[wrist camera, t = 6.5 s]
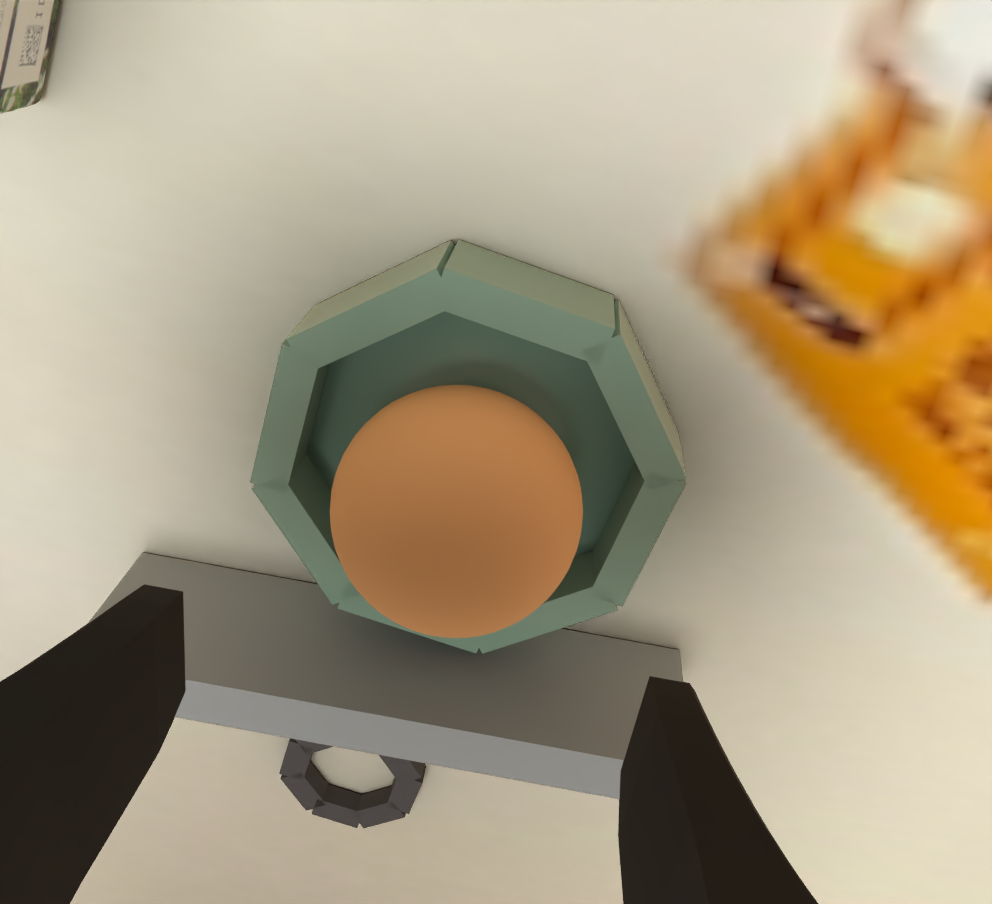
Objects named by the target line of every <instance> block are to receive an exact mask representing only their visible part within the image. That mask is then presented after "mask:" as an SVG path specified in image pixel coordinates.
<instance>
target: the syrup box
mask: <svg viewBox="0 0 992 904" xmlns="http://www.w3.org/2000/svg"><path fill="white" fill-rule="evenodd" d="M58 3H59V0H0V114H1V113H4V112H9V111H13V110H16V109H18V108H23V107H27V106H30V105H33V104H36V103H37V102H39V100H40V96H41V92H42V89H43V85H44V80H45V74H46V69H47V65H48V60H49V55H50V47H51V42H52V37H53V32H54V27H55V24H56V16H57V13H58Z"/></svg>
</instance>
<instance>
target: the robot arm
mask: <svg viewBox="0 0 992 904" xmlns="http://www.w3.org/2000/svg"><path fill="white" fill-rule="evenodd" d="M185 691H186V686H185V644H184V602H183V591H178V590H173V589H167V588H162V587H156V586H151V585H145V584H144V585H143V586H141V587H140V588H138V589H137V590H135V591H134V592H132V593H131V594H129V595H128V596H126V597H125V598H123V599H122V600H120V601H119V602H118V603H116V604H115V605H113V606H112V607H111V608H109V609H108V610H106V611H105V612H103V613H102V614H101V615H99V616H98V617H96V618H95V619H94V620H92V621H91V622H89V623H88V624H86V625H85V626H84V627H82V628H81V629H79V630H78V631H76V632H75V633H74V634H72V635H71V636H69V637H68V638H66V639H65V640H63V641H62V642H60V643H59V644H57V645H56V646H54V647H53V648H51V649H50V650H49V651H47V652H46V653H44V654H43V655H41V656H40V657H38V658H37V659H35V660H34V661H32V662H31V663H29V664H28V665H26V666H25V667H23V668H22V669H20V670H18V671H17V672H15V673H14V674H12V675H10V676H9V677H7V678H6V679H4V680H2V681H1V682H0V904H70V902H71V901H72V899H73V897H74V895H75V893H76V891H77V890H78V888H79V886H80V884H81V882H82V881H83V879H84V877H85V876H86V874H87V872H88V871H89V869H90V867H91V866H92V864H93V862H94V861H95V859H96V857H97V856H98V854H99V852H100V851H101V849H102V847H103V846H104V844H105V842H106V841H107V839H108V837H109V835H110V834H111V832H112V830H113V829H114V827H115V825H116V824H117V822H118V820H119V819H120V817H121V815H122V814H123V812H124V810H125V809H126V807H127V805H128V804H129V802H130V800H131V799H132V797H133V795H134V794H135V792H136V790H137V789H138V787H139V785H140V784H141V782H142V780H143V778H144V777H145V775H146V773H147V772H148V770H149V768H150V767H151V765H152V763H153V761H154V760H155V758H156V756H157V754H158V753H159V751H160V749H161V747H162V744H163V742H164V740H165V738H166V735H167V733H168V731H169V729H170V727H171V724H172V722H173V720H174V717H175V715H176V713H177V710H178V708H179V706H180V703H181V701H182V698H183V696H184V694H185ZM618 837H619V852H620V865H621V877H622V890H623V902H624V904H818V903H817V901H816V900H815V899H814V897H813V896H812V895H811V893H810V892H809V890H808V889H807V888H806V886H805V885H804V883H803V882H802V880H801V879H800V878H799V876H798V875H797V873H796V872H795V870H794V869H793V867H792V866H791V864H790V863H789V861H788V860H787V858H786V857H785V855H784V854H783V852H782V851H781V849H780V847H779V846H778V844H777V843H776V841H775V840H774V838H773V836H772V835H771V833H770V832H769V830H768V829H767V827H766V825H765V824H764V822H763V820H762V819H761V817H760V815H759V814H758V812H757V810H756V809H755V807H754V805H753V803H752V801H751V800H750V798H749V796H748V794H747V793H746V791H745V789H744V787H743V785H742V784H741V782H740V780H739V778H738V777H737V775H736V773H735V771H734V769H733V767H732V766H731V764H730V762H729V760H728V758H727V756H726V754H725V752H724V750H723V748H722V746H721V744H720V742H719V740H718V739H717V737H716V735H715V733H714V730H713V728H712V726H711V724H710V722H709V720H708V718H707V716H706V714H705V712H704V710H703V708H702V705H701V703H700V701H699V699H698V697H697V695H696V692H695V690H694V689H693V687H692V686H691V685H690V683H686V682H680V681H675V680H669V679H664V678H658V677H653V676H649V680H648V683H647V686H646V689H645V693H644V696H643V699H642V702H641V706H640V709H639V712H638V716H637V719H636V722H635V725H634V729H633V732H632V735H631V738H630V742H629V745H628V748H627V752H626V755H625V758H624V761H623V765H622V768H621V774H620V798H619V831H618Z"/></svg>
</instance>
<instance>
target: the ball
mask: <svg viewBox="0 0 992 904" xmlns="http://www.w3.org/2000/svg"><path fill="white" fill-rule="evenodd" d="M582 519H583V504H582V493H581V487H580V482H579V478H578V474H577V472H576V469H575V466H574V464H573V461H572V459H571V457H570V454H569V452H568V451H567V449H566V447H565V445H564V444H563V442H562V440H561V439H560V438H559V437H558V435H557V434H556V433H555V431H554V430H553V429H552V428H551V427H550V426H549V425H548V424H547V423H546V422H545V421H544V420H543V419H542V417H541V416H540V415H538V414H537V413H536V412H534V411H533V410H532V409H530V408H529V407H528V406H526V405H525V404H523V403H521V402H520V401H518V400H516V399H514V398H512V397H510V396H508V395H505V394H503V393H501V392H497V391H494V390H491V389H488V388H483V387H477V386H472V385H441V386H436V387H430V388H426V389H423V390H419V391H416V392H413V393H411V394H408V395H406V396H404V397H402V398H400V399H397V400H395V401H393V402H392V403H390V404H389V405H387V406H386V407H384V408H383V409H381V410H380V411H379V412H378V413H377V414H375V415H374V416H373V417H372V418H371V419H370V420H369V421H368V422H366V423H365V424H364V425H363V427H362V428H361V429H360V430H359V431H358V433H357V434H356V435H355V437H354V438H353V439H352V441H351V442H350V444H349V446H348V447H347V449H346V451H345V452H344V454H343V456H342V459H341V461H340V464H339V466H338V469H337V471H336V474H335V477H334V482H333V486H332V491H331V501H330V524H331V532H332V537H333V542H334V546H335V550H336V552H337V555H338V557H339V560H340V562H341V565H342V567H343V569H344V571H345V573H346V575H347V576H348V578H349V580H350V581H351V583H352V584H353V585H354V587H355V588H356V590H357V591H358V592H359V593H360V594H361V595H362V596H363V597H364V598H365V600H366V601H367V602H368V603H369V604H370V605H371V606H372V607H374V608H375V609H376V610H377V611H378V612H380V613H381V614H382V615H384V616H385V617H387V618H388V619H390V620H391V621H393V622H395V623H397V624H399V625H401V626H403V627H406V628H408V629H411V630H413V631H416V632H419V633H423V634H426V635H431V636H437V637H445V638H469V637H476V636H482V635H486V634H490V633H493V632H496V631H499V630H501V629H504V628H506V627H509V626H511V625H513V624H515V623H517V622H519V621H521V620H522V619H524V618H525V617H527V616H528V615H529V614H531V613H532V612H534V611H535V610H536V609H537V608H538V607H540V606H541V605H542V604H543V603H544V602H545V601H546V600H547V599H548V598H549V597H550V596H551V595H552V593H553V592H554V591H555V590H556V588H557V587H558V586H559V584H560V583H561V582H562V580H563V578H564V577H565V575H566V573H567V572H568V570H569V568H570V566H571V563H572V561H573V558H574V556H575V553H576V551H577V548H578V544H579V540H580V536H581V529H582Z"/></svg>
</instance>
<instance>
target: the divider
mask: <svg viewBox="0 0 992 904" xmlns="http://www.w3.org/2000/svg"><path fill="white" fill-rule="evenodd" d="M144 584H145V585H151V586H156V587H162V588H167V589H173V590H178V591H183V602H184V644H185V686H186V691H185V694H184V696H183V698H182V701H181V703H180V706H179V708H178V710H177V713H176V715H175V717H178V718H183V719H188V720H194V721H199V722H205V723H210V724H216V725H221V726H226V727H232V728H237V729H243V730H248V731H253V732H259V733H264V734H270V735H275V736H280V737H286V738H291V739H297V740H302V741H308V742H313V743H318V744H324V745H329V746H335V747H340V748H345V749H351V750H356V751H362V752H367V753H372V754H378V755H383V756H389V757H394V758H400V759H405V760H410V761H416V762H421V763H427V764H432V765H437V766H443V767H448V768H454V769H459V770H464V771H470V772H475V773H481V774H486V775H492V776H497V777H502V778H508V779H513V780H519V781H524V782H529V783H535V784H540V785H546V786H551V787H557V788H562V789H567V790H573V791H578V792H584V793H589V794H594V795H600V796H605V797H611V798H616V799H619V798H620V774H621V768H622V765H623V761H624V758H625V755H626V752H627V748H628V745H629V742H630V738H631V735H632V732H633V729H634V725H635V722H636V719H637V716H638V712H639V709H640V706H641V702H642V699H643V696H644V693H645V689H646V686H647V683H648V680H649V676H653V677H658V678H664V679H669V680H675V681H680V682H683V675H682V667H681V658H680V650H676V649H671V648H665V647H660V646H654V645H649V644H643V643H638V642H632V641H627V640H621V639H616V638H610V637H605V636H599V635H594V634H588V633H583V632H577V631H572V630H566V629H558V630H555V631H552V632H548V633H545V634H542V635H539V636H536V637H533V638H530V639H527V640H524V641H521V642H517V643H514V644H511V645H508V646H505V647H502V648H499V649H496V650H493V651H490V652H486V653H483V654H482V652H481V650H480V649H479V648H478V651H477V653H473V652H470V651H466V650H463V649H460V648H457V647H454V646H451V645H448V644H445V643H442V642H439V641H436V640H433V639H430V638H427V637H424V636H420V635H417V634H414V633H411V632H408V631H405V630H402V629H399V628H396V627H393V626H390V625H387V624H384V623H381V622H377V621H374V620H371V619H368V618H365V617H362V616H359V615H356V614H353V613H350V612H347V611H344V610H341V609H338V605H339V603H336V604H333V605H332V604H331V602H330V601H329V599H328V598H327V596H326V595H325V593H324V592H323V591H322V589H321V588H320V586H319V585H318V584H313V583H308V582H302V581H297V580H291V579H286V578H280V577H275V576H269V575H264V574H258V573H253V572H247V571H242V570H236V569H231V568H225V567H220V566H214V565H209V564H203V563H198V562H192V561H187V560H181V559H176V558H170V557H165V556H159V555H154V554H148V553H142V554H141V555H140V557H139V558H138V559H137V561H136V562H135V563H134V565H133V566H132V567H131V568H130V570H129V571H128V572H127V574H126V575H125V576H124V577H123V579H122V580H121V581H120V583H119V584H118V585H117V587H116V588H115V589H114V590H113V592H112V593H111V594H110V596H109V597H108V598H107V599H106V601H105V602H104V603H103V605H102V606H101V607H100V609H99V610H98V611H97V612H96V614H95V615H94V616H93V618H92V619H91V620H90V621H89V622H91V621H92V620H94V619H95V618H96V617H98V616H99V615H101V614H102V613H103V612H105V611H106V610H108V609H109V608H111V607H112V606H113V605H115V604H116V603H118V602H119V601H120V600H122V599H123V598H125V597H126V596H128V595H129V594H131V593H132V592H134V591H135V590H137V589H138V588H140V587H141V586H143V585H144Z"/></svg>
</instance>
